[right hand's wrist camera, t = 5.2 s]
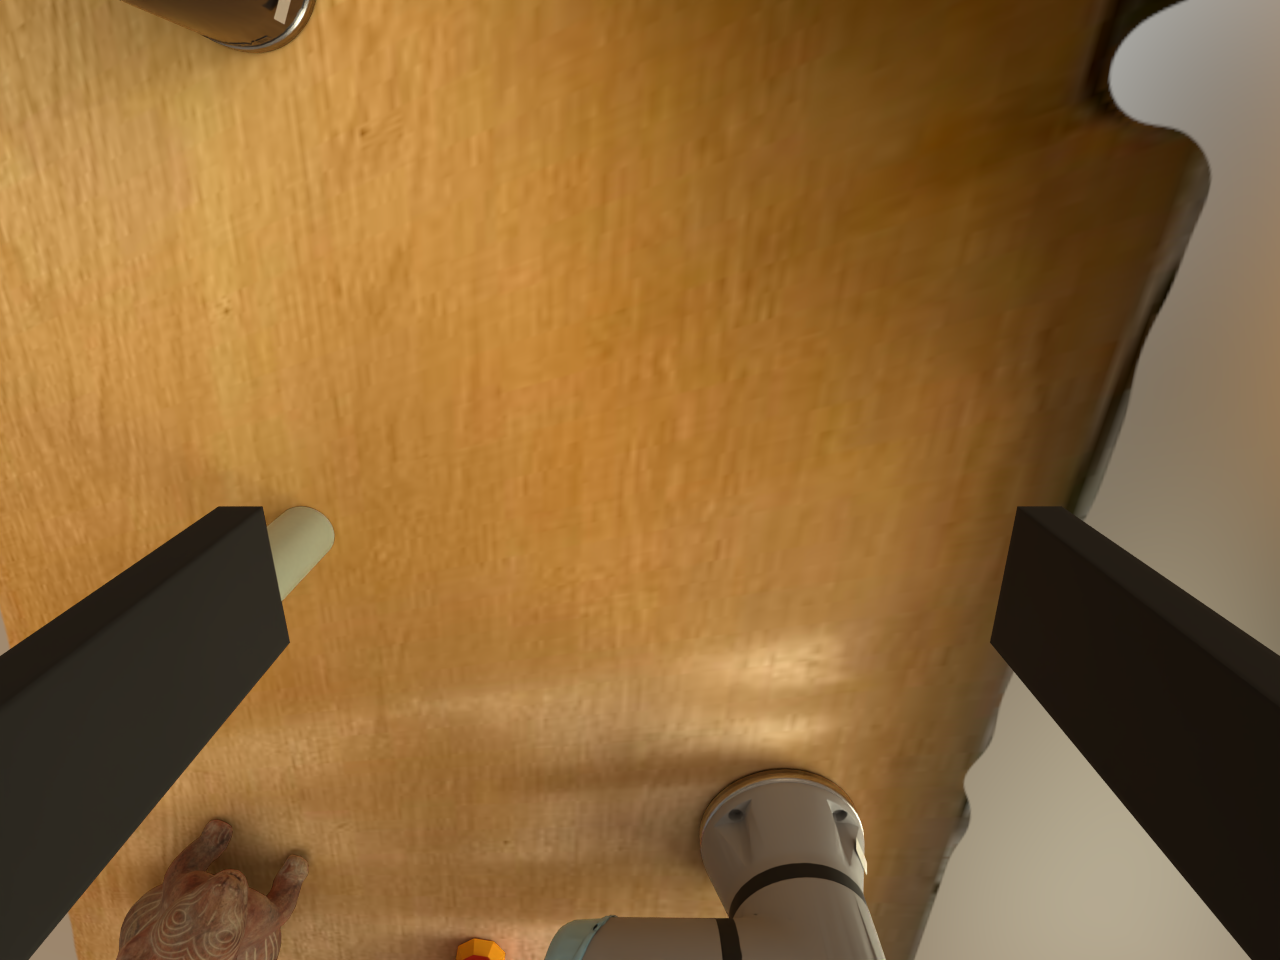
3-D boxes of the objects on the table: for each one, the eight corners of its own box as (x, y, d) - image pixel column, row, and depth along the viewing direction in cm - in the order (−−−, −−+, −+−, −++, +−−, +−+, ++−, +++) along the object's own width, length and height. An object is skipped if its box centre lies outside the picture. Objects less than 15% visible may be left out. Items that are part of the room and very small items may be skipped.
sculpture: (353, 800, 66) (276, 957, 52) (275, 964, 74) (189, 1140, 60) (207, 746, 64) (86, 895, 50) (142, 921, 72) (21, 1093, 58)
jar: (265, 522, 57) (134, 628, 42) (310, 496, 56) (193, 595, 41) (301, 567, 58) (187, 685, 43) (346, 542, 57) (245, 653, 43)
